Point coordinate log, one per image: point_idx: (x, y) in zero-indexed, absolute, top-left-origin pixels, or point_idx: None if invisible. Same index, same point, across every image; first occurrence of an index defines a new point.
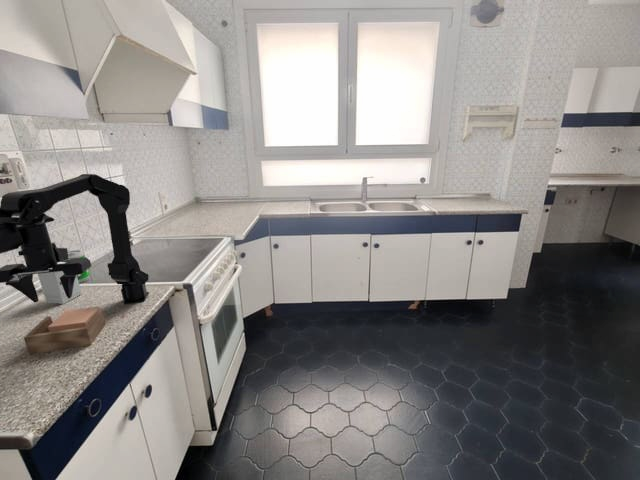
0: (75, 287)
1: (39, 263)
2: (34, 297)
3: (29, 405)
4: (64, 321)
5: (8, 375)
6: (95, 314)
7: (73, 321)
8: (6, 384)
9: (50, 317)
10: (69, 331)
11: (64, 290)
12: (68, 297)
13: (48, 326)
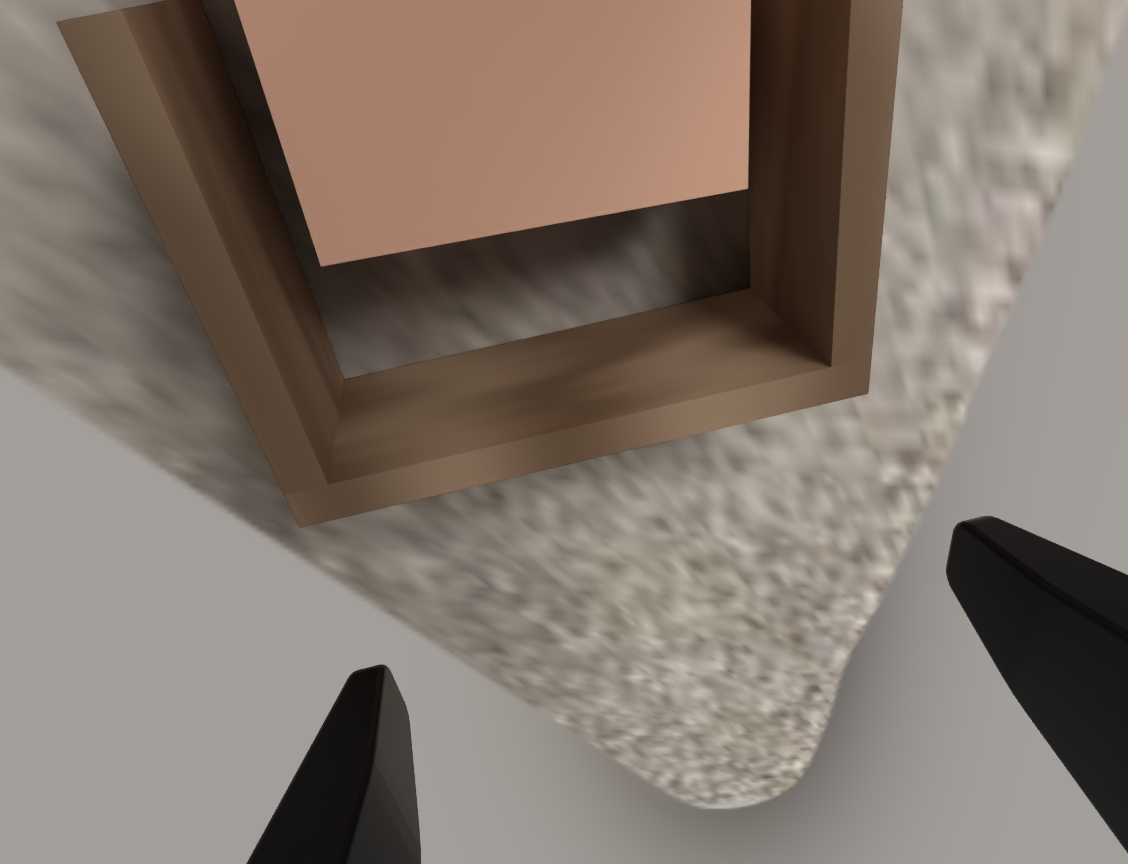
0: None
1: None
2: (409, 831)
3: (694, 730)
4: (447, 134)
5: (391, 601)
6: (862, 55)
7: (582, 149)
8: (456, 653)
9: (134, 24)
10: (710, 427)
11: (1111, 823)
12: (975, 603)
13: (319, 252)
